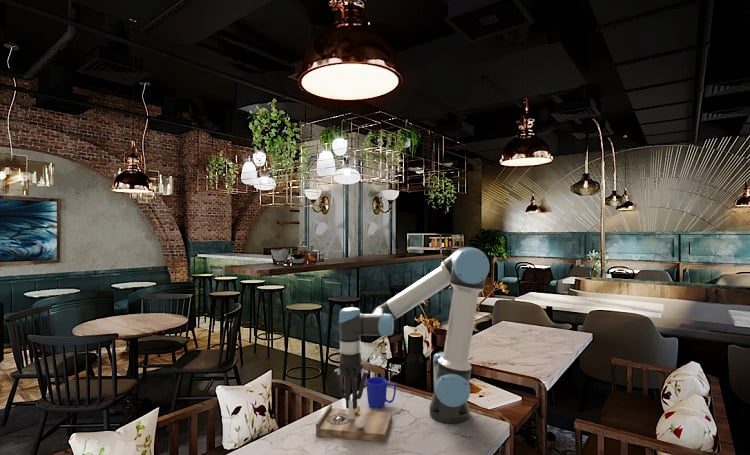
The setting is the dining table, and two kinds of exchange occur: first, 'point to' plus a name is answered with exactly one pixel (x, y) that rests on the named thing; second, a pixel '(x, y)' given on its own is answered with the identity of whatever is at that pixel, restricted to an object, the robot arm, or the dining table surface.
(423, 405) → the dining table surface
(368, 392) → the mug
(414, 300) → the robot arm
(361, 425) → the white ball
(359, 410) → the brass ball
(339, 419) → the steel ball
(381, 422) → the deck
